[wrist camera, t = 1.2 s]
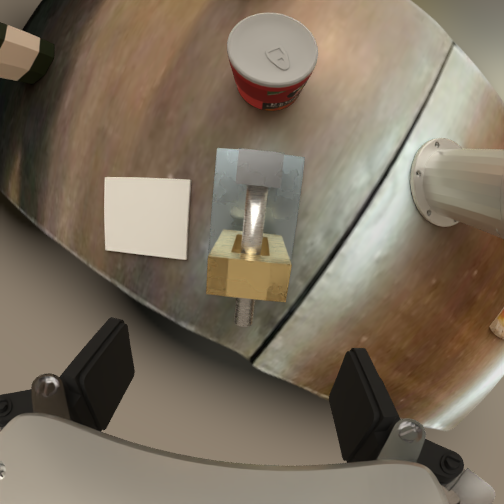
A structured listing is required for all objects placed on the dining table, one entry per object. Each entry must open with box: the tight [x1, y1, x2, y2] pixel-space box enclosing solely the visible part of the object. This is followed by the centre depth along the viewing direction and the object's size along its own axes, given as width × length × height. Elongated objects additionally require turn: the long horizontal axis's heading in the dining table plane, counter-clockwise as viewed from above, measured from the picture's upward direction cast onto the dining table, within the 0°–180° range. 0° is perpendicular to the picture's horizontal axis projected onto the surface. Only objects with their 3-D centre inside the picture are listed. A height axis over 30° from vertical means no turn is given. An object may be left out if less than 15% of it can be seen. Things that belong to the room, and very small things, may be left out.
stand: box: [209, 148, 305, 327], centre depth 26 cm, size 10×16×14 cm, turn 174°
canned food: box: [227, 13, 318, 111], centre depth 23 cm, size 8×8×11 cm
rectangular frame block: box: [206, 229, 292, 302], centre depth 24 cm, size 6×3×9 cm, turn 84°
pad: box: [104, 177, 191, 260], centre depth 33 cm, size 12×10×1 cm
